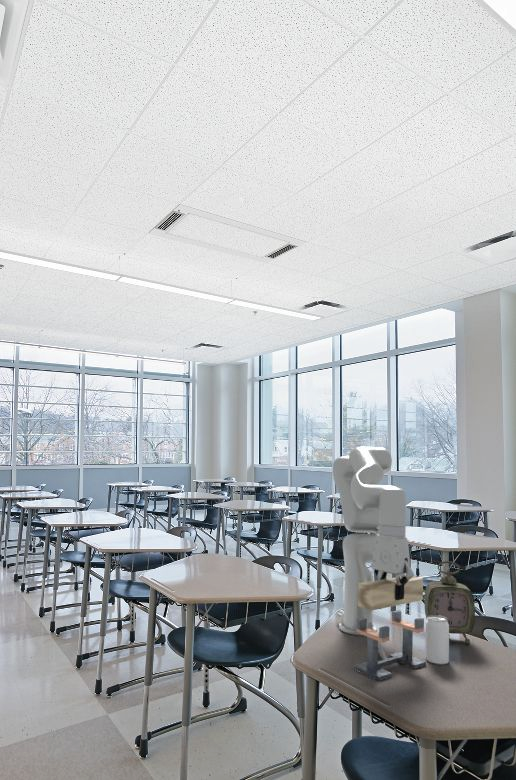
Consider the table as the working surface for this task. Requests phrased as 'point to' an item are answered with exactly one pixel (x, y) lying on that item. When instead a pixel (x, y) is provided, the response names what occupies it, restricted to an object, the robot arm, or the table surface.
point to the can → (437, 640)
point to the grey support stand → (373, 637)
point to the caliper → (380, 649)
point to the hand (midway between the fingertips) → (391, 596)
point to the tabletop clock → (451, 603)
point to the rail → (388, 593)
